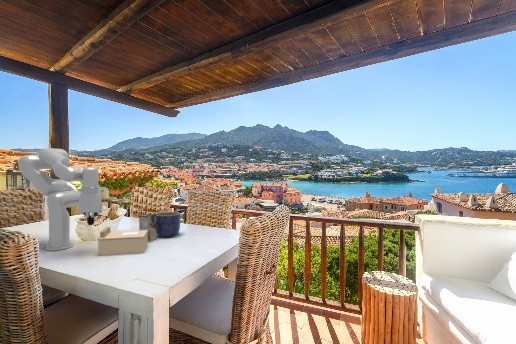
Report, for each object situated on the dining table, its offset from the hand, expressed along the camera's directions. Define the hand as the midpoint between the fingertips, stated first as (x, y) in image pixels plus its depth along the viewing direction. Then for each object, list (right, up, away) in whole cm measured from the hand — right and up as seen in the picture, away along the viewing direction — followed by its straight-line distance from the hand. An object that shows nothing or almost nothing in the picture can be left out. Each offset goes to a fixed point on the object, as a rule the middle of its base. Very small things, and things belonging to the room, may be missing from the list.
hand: (90, 224), depth 148 cm
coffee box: (+21, -15, +25) cm, 36 cm away
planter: (+29, -15, +37) cm, 49 cm away
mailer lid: (+16, -7, +5) cm, 18 cm away
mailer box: (+16, -15, +5) cm, 22 cm away
